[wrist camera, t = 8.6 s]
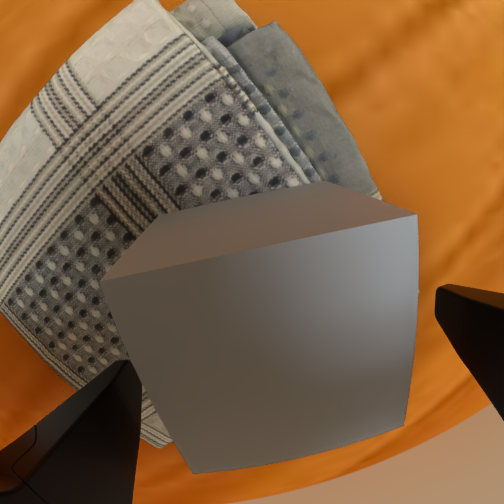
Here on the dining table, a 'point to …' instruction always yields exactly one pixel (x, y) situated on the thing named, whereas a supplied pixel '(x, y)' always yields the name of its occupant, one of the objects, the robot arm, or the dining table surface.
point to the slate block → (272, 322)
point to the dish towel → (150, 162)
